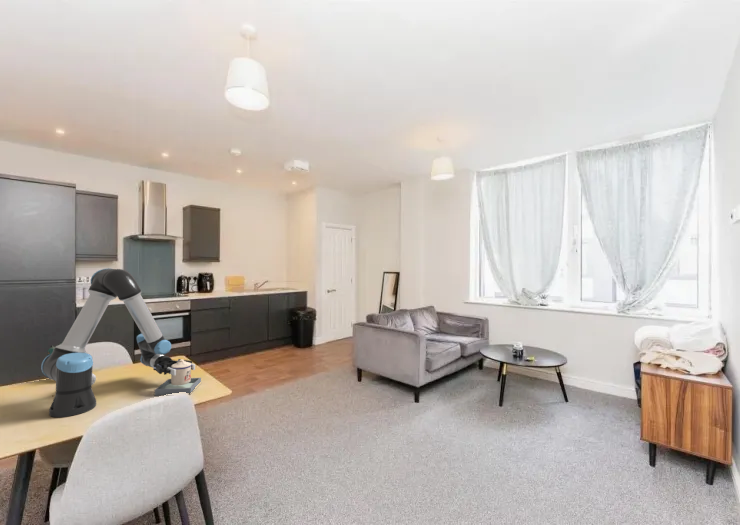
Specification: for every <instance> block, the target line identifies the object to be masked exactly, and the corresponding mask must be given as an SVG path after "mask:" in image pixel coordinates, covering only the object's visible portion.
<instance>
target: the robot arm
mask: <svg viewBox="0 0 740 525" xmlns="http://www.w3.org/2000/svg"><path fill="white" fill-rule="evenodd" d="M142 291H143V290H142V289H141V287H140V285H139V284H138V281H136V279H135V277H134V276H133V275H132V274H131V273H130V272H129V271H127V270H125V269H123V268H116V269H115V268H109V267H108V268H102V269H100V270H99V269H98V270H97V271H96V272H94V273H93V274H92V276H91V278H90V286H89V288H88V290H87V292H88V294H89V296H88V297H87V299H86V301H85V302H84V305H83V306H82V307H81V310H80V312H79V313H78V315H77V316H76V319H74V320H75V321H73V324H72V326H71V327H70V329H69V330H68V332H67V334H66V336H65V338H64V339H63V341H62V342H63V343H61V344H60V343H59V345H58V344H57V345H56V346H54V347H55V349H54V350H53V352H52V353H51V354H50V355H48V356H47V355H46V356H45V358H44V359H43V360H42V362H41V366H40V369H41V372H42V374H43V375H44V376H45V377H46V378H47V379H49V380H53V381H55V395H54V398H53V399H52V402H51V405H50V406H49V410H48V411H49V412H48V415H49V416H50V417H52V418H65V417H66V418H67V417H71V416H72V417H73V416H77V415H80V414H83V413H85V412H89V411H91V410H93V409H94V408H96V406H97V398H96V396H95V394H94V390H93V388H92V386H93V385H92V373H93V366H94V360H93V356H92V355H91V354H89V353H88V352H87V351H86V346H87V345H88V343H89V341H90V340H91V338H92V337H93V336H92V335H93V334H94V332H95V330H96V328H97V326H98V324H99V323H100V321H101V319H102V317H103V315H104V313H105V312H106V310H107V308H108V306H109V304H110V303H111V301H113V300H116V299H118V300H119V301H121V302H123V303H124V305H125V307H126V308H127V310H128V312H129V314H130V315H131V317H132V319H133V320H134V322H135V324H136V326H137V327H138V329H139V331H140V334H138V335H136V342H137V345H138V348H139V351H140V353H141V356H140V363H141V364H143V365H144V366H146V367H149V368H152V369H153V371H156V372H157V373H158V374H159V375H162V374H163V375H170V376H171V375H176V369H173V368H171V366H172V365H173V364H175V363H177V362H179V360H181V359H182V358H178V359H177V360H174V359H172V358H171V357H170V356H167V355H166V354H168V353H170V351H171V349H172V343H171V342H170V340H167V339H166V338H165V337H164V334H163V333H162V331H161V329H160V327H159V326H158V324H157V322H156V321H155V318H154V317H153V315H152V313H151V311H150V310H149V309H150V308H148V305H147V304H146V301H145V300H144V298H143V297H142V295H141V294H142ZM183 360H184V361H186V362H189V363H191V371H195V370H196V364H195V363H193V360H188V359H187V360H186V359H183Z"/></svg>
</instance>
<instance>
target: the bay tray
mask: <svg viewBox="0 0 740 525" xmlns="http://www.w3.org/2000/svg"><path fill="white" fill-rule="evenodd" d="M200 382H201V383H202V377H191V381H190V382H189V383H187V384H184V385H172V384H171V378H167V379H166V380H165V381H164V382H162V383H161V384H160V385H159V386H158V387H156V388H155V389H154V397H160V396H161V395H166V394H172V393H179V392H186V393H191V392H192V391H193V390H194V389H195V387H196V386H197V385H198V384H199V383H200ZM195 390H196V389H195ZM195 390H194V391H195ZM194 391H193V392H194ZM193 392H192V393H193ZM192 393H191V394H192ZM166 396H167V395H166Z"/></svg>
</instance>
